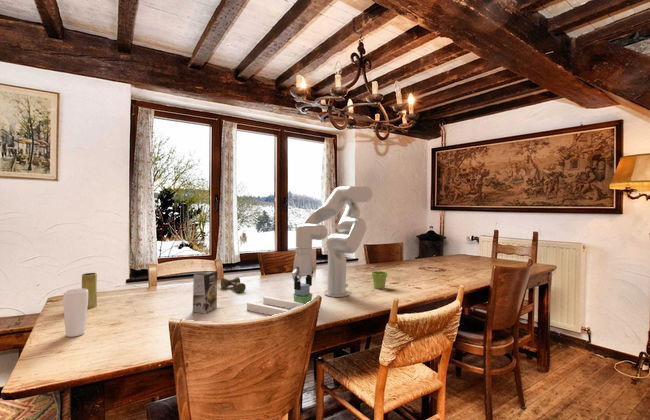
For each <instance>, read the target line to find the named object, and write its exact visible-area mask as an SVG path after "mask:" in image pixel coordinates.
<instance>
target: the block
mask: <svg viewBox="0 0 650 420" xmlns="http://www.w3.org/2000/svg"><path fill="white" fill-rule="evenodd" d="M310 287H311V286H310V284H306V283H304V282H301V290H295V289H294V293H295V295H299V296H306V295H308V294H310V293H311V292H310Z"/></svg>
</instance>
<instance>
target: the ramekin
mask: <svg viewBox="0 0 650 420" xmlns="http://www.w3.org/2000/svg"><path fill="white" fill-rule="evenodd" d="M292 295H293V301H294V302H300V303H305V304H306V303H307V302H309V301H311V300H313V299H312V298H313V293H311V292H310V294H308V295H306V296H299V295H295V292H294V293H293V294H292ZM311 302H312V301H311Z"/></svg>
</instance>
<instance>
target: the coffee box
mask: <svg viewBox="0 0 650 420" xmlns="http://www.w3.org/2000/svg"><path fill="white" fill-rule="evenodd" d="M192 282H193V284H192V288H193V289H192V313H199V314H207V313H208V312H211V311H212V310H215V309H216V308H218V307H217V306H218V304H217V303H218V271H217V270H204V271H200V272H198V273H194V274H193V281H192Z"/></svg>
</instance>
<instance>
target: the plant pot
mask: <svg viewBox="0 0 650 420" xmlns="http://www.w3.org/2000/svg"><path fill="white" fill-rule="evenodd" d="M370 274H371V276H372V282H373V283H372V284H373V289H378V290H379V289H382V290H383V288H384V289H385V288H386V281H387V277H388V274H389V273H388V271H387V272H386V271H383V270H382V271H381V270H378V271H377V270H376V271H375V270H374V271H371V272H370Z"/></svg>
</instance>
